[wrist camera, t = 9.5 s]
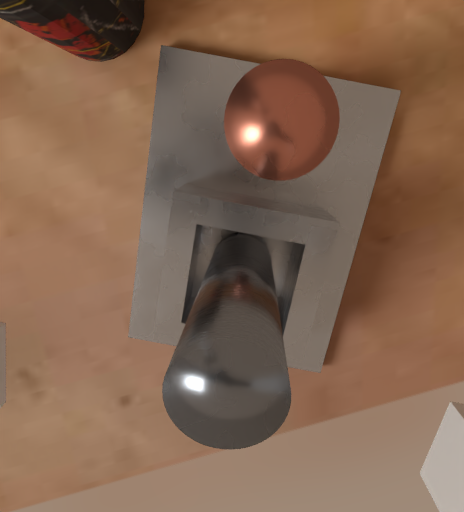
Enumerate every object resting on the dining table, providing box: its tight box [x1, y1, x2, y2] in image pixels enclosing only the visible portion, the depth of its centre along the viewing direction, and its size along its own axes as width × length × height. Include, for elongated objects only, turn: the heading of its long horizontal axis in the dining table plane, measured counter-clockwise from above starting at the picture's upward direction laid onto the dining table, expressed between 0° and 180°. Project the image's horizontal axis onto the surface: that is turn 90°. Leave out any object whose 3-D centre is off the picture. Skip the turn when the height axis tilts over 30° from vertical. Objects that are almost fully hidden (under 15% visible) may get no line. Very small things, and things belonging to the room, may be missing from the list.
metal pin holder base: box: [128, 45, 401, 373], centre depth 20 cm, size 19×14×11 cm
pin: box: [162, 235, 291, 449], centre depth 19 cm, size 4×4×14 cm
